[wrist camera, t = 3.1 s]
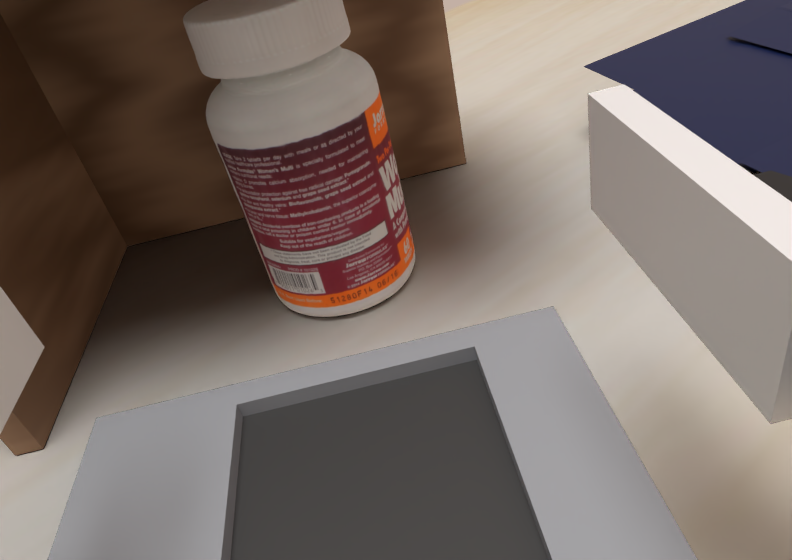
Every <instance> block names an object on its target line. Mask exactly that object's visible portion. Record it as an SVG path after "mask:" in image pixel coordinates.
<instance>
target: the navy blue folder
mask: <svg viewBox="0 0 792 560" xmlns="http://www.w3.org/2000/svg"><path fill="white" fill-rule="evenodd" d="M584 67H586V68H588V69H590V70H592V71H595V72H597V73H599V74H601V75H603V76H606V77H608V78H610V79H612V80H614V81H617V82H619V83H621V84H624V85H626V86H628V87H630V88H632V89H634V90H633V91H634V92H636V93H637V94H639V95H640V96H641V97H643V98H644V99H646V100H647V101H649V102H650V103H651V104H653V105H654V106H656V107H657V108H659V109H660V110H661V111H663V112H664V113H666V114H667V115H669V116H670V117H671V118H673V119H674V120H676V121H677V122H678V123H680V124H681V125H683V126H684V127H686V128H687V129H688V130H690V131H691V132H693V133H694V134H696V135H697V136H698V137H700V138H701V139H703V140H704V141H705V142H707V143H708V144H710V145H711V146H713V147H714V148H715V149H717V150H718V151H720V152H721V153H723V154H724V155H725V156H727V157H728V158H730V159H731V160H733V161H734V162H735V163H737V164H738V165H740V166H742V167H744V168H746V169H748V170H750V171H752V172H756V171H760V172H762V173H763V172H766V171H770V170H771V171H775V172H778V173H781V174H784V175H787V176H791V177H792V0H745V1H743V2H740V3H738V4H736V5H733V6H731V7H728V8H726V9H723V10H721V11H718V12H716V13H713V14H711V15H709V16H706V17H704V18H701V19H699V20H696V21H694V22H691V23H689V24H686V25H684V26H682V27H679V28H677V29H674V30H672V31H669V32H667V33H664V34H662V35H659V36H657V37H655V38H652V39H650V40H647V41H645V42H642V43H640V44H637V45H635V46H632V47H630V48H628V49H625V50H623V51H620V52H618V53H615V54H613V55H610V56H608V57H605V58H603V59H601V60H598V61H596V62H593V63H591V64H588V65H586V66H584Z"/></svg>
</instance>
